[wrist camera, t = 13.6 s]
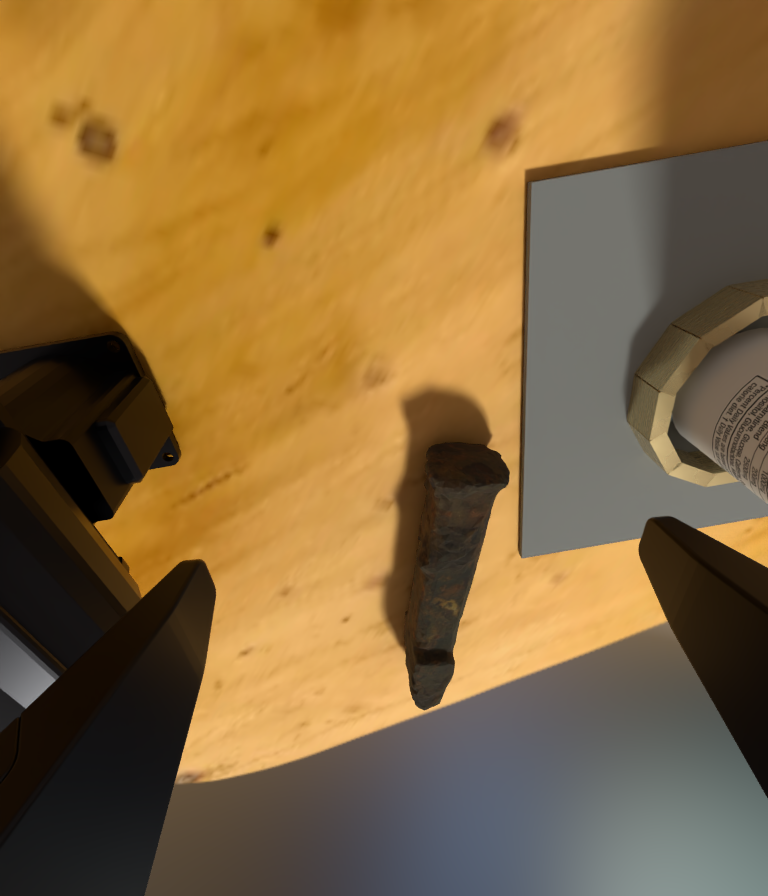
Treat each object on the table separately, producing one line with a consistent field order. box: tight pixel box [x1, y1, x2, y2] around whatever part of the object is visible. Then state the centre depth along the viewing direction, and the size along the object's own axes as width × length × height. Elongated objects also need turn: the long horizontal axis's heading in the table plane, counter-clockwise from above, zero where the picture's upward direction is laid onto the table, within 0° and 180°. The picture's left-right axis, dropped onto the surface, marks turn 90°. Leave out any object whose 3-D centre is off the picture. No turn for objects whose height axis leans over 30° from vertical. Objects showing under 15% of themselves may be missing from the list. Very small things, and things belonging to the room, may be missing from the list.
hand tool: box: [404, 442, 510, 710], centre depth 26 cm, size 19×4×5 cm, turn 173°
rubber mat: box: [519, 141, 768, 558], centre depth 22 cm, size 20×20×1 cm
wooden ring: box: [627, 279, 768, 487], centre depth 21 cm, size 10×10×2 cm
